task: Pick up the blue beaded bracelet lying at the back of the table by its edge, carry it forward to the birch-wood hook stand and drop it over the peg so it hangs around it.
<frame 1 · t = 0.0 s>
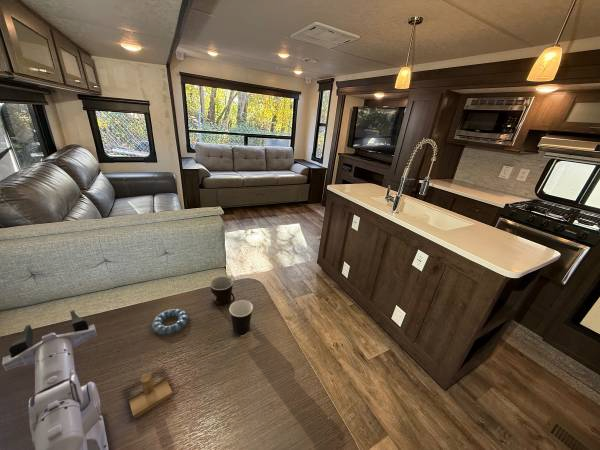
hand: (52, 320, 59), 22 cm above the table, tool horizontal, fingers open, 7 cm apart
dixie cup: (241, 331, 88), on the table
blue beaded bracelet: (170, 321, 88), point 1 cm above the table
coffee mug: (223, 305, 99), on the table
hook stand: (149, 392, 67), on the table
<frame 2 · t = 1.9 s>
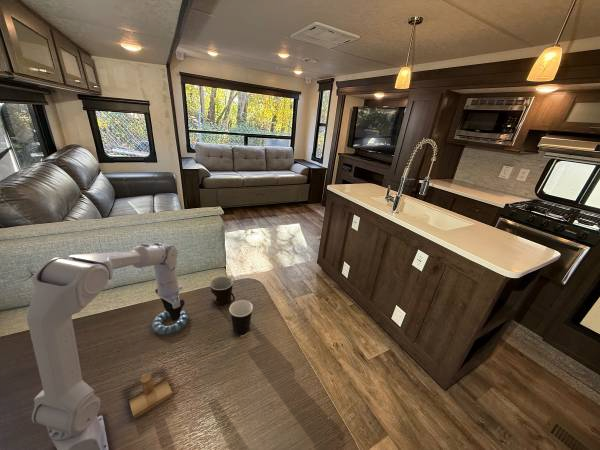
hand: (172, 312, 82), 9 cm above the table, tool pointing down, fingers open, 7 cm apart
nothing on the table moved.
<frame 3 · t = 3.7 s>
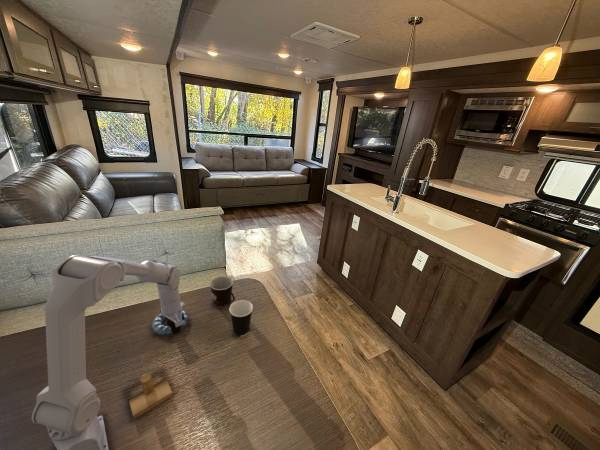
hand: (174, 328, 85), 1 cm above the table, tool pointing down, fingers closed on blue beaded bracelet, 3 cm apart
blue beaded bracelet: (170, 321, 88), point 2 cm above the table, touching gripper
everything else where it was.
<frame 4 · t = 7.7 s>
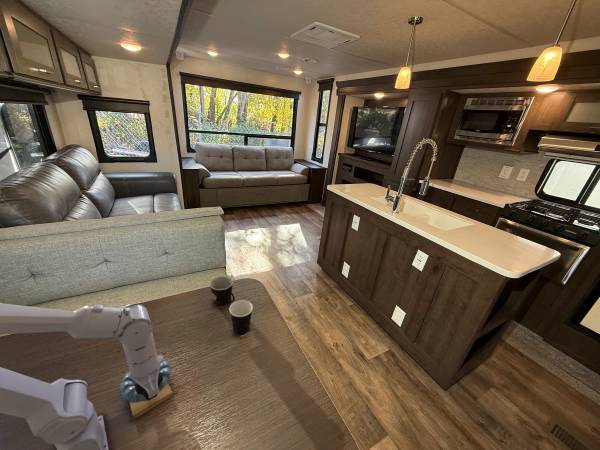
hand: (150, 391, 62), 6 cm above the table, tool pointing down, fingers closed on blue beaded bracelet, 3 cm apart
blue beaded bracelet: (146, 378, 64), point 6 cm above the table, touching gripper
everything else where it was.
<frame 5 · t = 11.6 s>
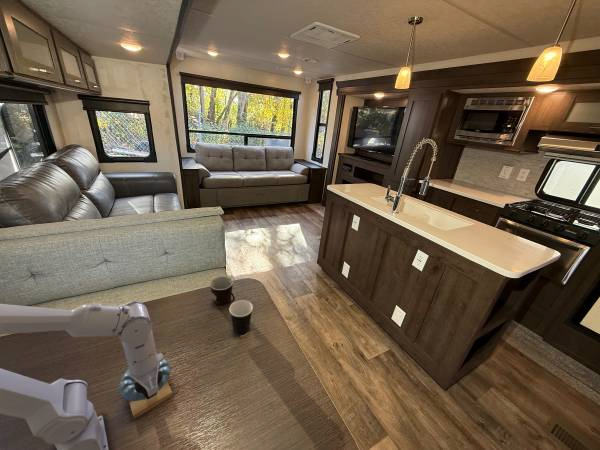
hand: (149, 389, 62), 6 cm above the table, tool pointing down, fingers closed on blue beaded bracelet, 3 cm apart
blue beaded bracelet: (145, 377, 64), point 6 cm above the table, touching gripper
everything else where it was.
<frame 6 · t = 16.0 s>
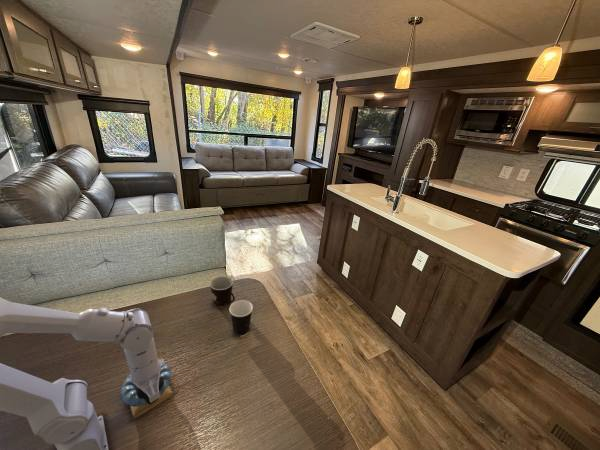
hand: (151, 394, 62), 4 cm above the table, tool pointing down, fingers closed on blue beaded bracelet, 3 cm apart
blue beaded bracelet: (147, 382, 65), point 4 cm above the table, touching gripper
everything else where it was.
when the fingers open (8 cm above the table, at t = 19.9 s): blue beaded bracelet drops 5 cm, resting on hook stand.
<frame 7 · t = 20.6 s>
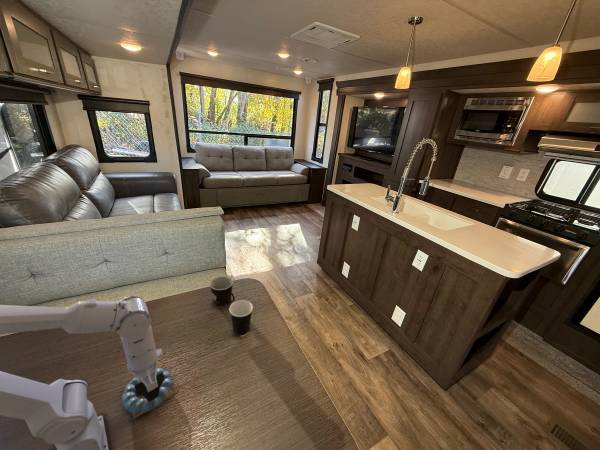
hand: (149, 385, 61), 8 cm above the table, tool pointing down, fingers open, 7 cm apart
blue beaded bracelet: (148, 389, 65), point 3 cm above the table, touching hook stand
everything else where it was.
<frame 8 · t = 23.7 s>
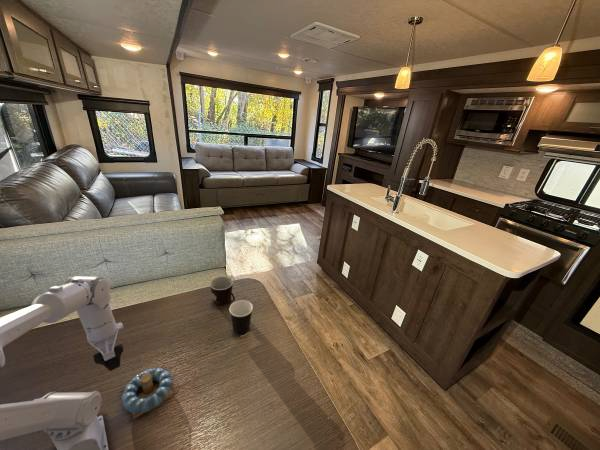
hand: (112, 356, 64), 10 cm above the table, tool pointing down, fingers open, 7 cm apart
nothing on the table moved.
at the end: blue beaded bracelet 0.8 cm from the hook stand (horizontally); blue beaded bracelet point 2.7 cm above the table; the gripper is holding nothing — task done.
